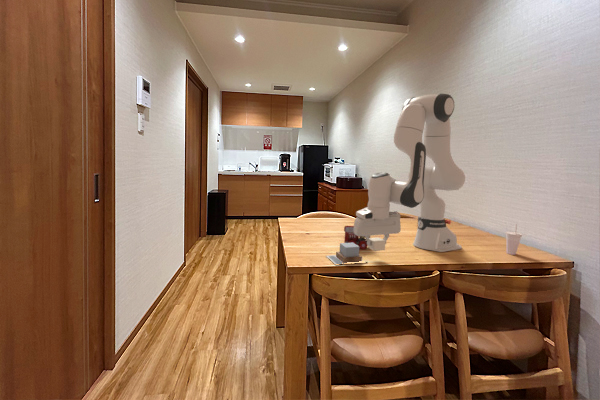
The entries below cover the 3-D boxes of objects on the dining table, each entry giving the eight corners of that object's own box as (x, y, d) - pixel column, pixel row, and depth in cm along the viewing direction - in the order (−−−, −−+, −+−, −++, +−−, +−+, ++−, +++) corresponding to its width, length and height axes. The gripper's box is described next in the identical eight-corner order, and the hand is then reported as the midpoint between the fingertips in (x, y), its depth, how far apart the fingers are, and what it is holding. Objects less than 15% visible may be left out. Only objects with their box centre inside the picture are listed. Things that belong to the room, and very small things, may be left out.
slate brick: (352, 251, 136) (353, 242, 136) (358, 256, 131) (359, 246, 130) (339, 252, 135) (340, 243, 134) (345, 257, 129) (345, 247, 128)
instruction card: (355, 254, 140) (355, 253, 140) (367, 263, 129) (367, 262, 129) (325, 256, 136) (325, 255, 136) (335, 265, 126) (335, 264, 125)
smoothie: (514, 256, 144) (518, 226, 142) (499, 252, 150) (503, 223, 147) (522, 254, 147) (526, 225, 145) (508, 250, 153) (512, 222, 150)
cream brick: (378, 246, 137) (378, 237, 137) (384, 249, 133) (385, 240, 132) (368, 247, 136) (368, 238, 135) (374, 251, 131) (374, 241, 130)
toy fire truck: (371, 250, 147) (372, 228, 145) (344, 249, 147) (345, 227, 145) (368, 245, 154) (369, 224, 152) (342, 244, 154) (343, 223, 152)
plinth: (353, 255, 138) (353, 250, 138) (361, 261, 130) (362, 256, 130) (335, 256, 136) (336, 251, 135) (343, 262, 128) (343, 258, 128)
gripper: (396, 209, 137) (394, 240, 140) (352, 212, 132) (351, 244, 134) (404, 212, 131) (402, 244, 134) (359, 215, 126) (357, 249, 128)
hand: (376, 244), depth 134 cm, fingers closed on cream brick, 5 cm apart
